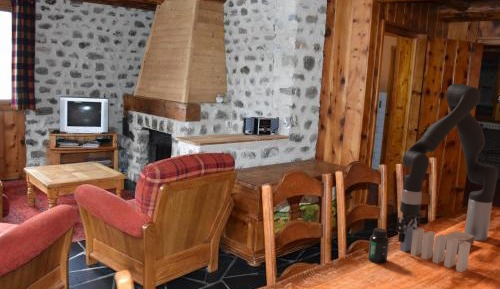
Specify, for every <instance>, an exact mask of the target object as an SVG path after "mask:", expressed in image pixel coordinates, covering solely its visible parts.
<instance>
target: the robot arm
mask: <svg viewBox="0 0 500 289" xmlns="http://www.w3.org/2000/svg"><path fill="white" fill-rule="evenodd" d="M445 94H446V95H445V97H446V102H447V105H448V107H449V110H450V112H449V113H448V114H447V115H445V116H444V117H441V118H440V119H439V120H437V121H435V122H434V123H432V124H431V125H430V126H429V127H428V128H427V129H426V130H425V132H424V133H423V134H422V136H421V137H420V139H419V140H418V141H416V142H415V143H414V144H413V145H411V146H410V147H409V148H408V149H407V150H406V151H405V152H404V154H403V156H402V164H403V165H404V166H405V167H407V168H409V169H411V170H410V173H409V174H406V175H404V179H403V186H402V191H401V197H400V198H401V200H400V205H399V206H400V207H399V210H400V212H401V213H402V216H397V219H396V220H397V221H396V226H395V232H397V233H398V239H397V240H398V242H399V243H401V242H402V243H403V242H404V240H405V232H406V230H407V229H408V228H409V226H412V225H413V226H414V227H413V230H415V229H417V228H420V224H421V214H422V213H421V206H422V199H423V198H422V195H423V194H422V190H423V182H424V179H425V177H426V174H427V171H428V169H429V165H430V164H429V158H428V156H427V153H432V152H434V151H435V150H436V149H437V148H438V147H439V146H440V144H441V143H442V142H443V141H444V139H445V138H446V136H447V135H448V134H449V133H450V132H451V131H452V130H453V129H455V127H456V129H457V134H458V137H459V142H460V145H461V148H462V151H463V155H464V162H465V166H466V173H467V177H468V180H469V181H470V183H473V184H476V185H479V186H480V185H481V186H483V187H482V189H480V190H473V191H471V192H470V193H469V196H468V204H467V212H466V217H465V218H466V220H465V227H464V233H467V234H470V235H473V236H474V237H475V238H474V241H482V242H484V241H487V240H488V235H489V229H490V228H489V227H490V223H491V222H490V221H491V220H490V219H491V215H492V214H491V213H492V207H493V201H494V200H493V199H494V195H495V192H496V186H497V182H498V178H499V177H498V176H499V172H498V168H497V166H495V165H491V164H485V163H481V162H480V161H479V160H478V158H479V157H478V156H479V155H480V153H481V152H482V150H483V149H484V147H485V144H486V138H485V135H484V130H483V128H482V126H481V124H480V123H479V122H478V120H477V119H476V118H475V117H474V116H473V114H472V113H471V112H472V110H474V109H475V107H477V105H478V103H479V102H480V100H481V92H480V90H479V89H478V88H477V87H475V86H471V85H468V84H463V83H452V84H451V85H450V86H448V88H447V90H446V93H445ZM403 229H404V230H403Z"/></svg>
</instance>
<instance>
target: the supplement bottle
mask: <svg viewBox="0 0 500 289" xmlns="http://www.w3.org/2000/svg"><path fill="white" fill-rule="evenodd" d="M387 233H388V230H387V229H385V228H381V227H375V228H373V232H372V235H370V237H369V246H368V260H369V261H370V262H371V263H375V264H379V265H382V264H386V263H387V261H388V255H389V254H388V252H389V242H390V240H389V238H388V237H387V235H388V234H387Z"/></svg>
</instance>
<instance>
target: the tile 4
mask: <svg viewBox="0 0 500 289" xmlns="http://www.w3.org/2000/svg"><path fill="white" fill-rule="evenodd" d="M445 235H446V234H442V233H441V234H438V235H435V238H434V246H433V255H432V263H434V264H440V263H441V262H444V261H445V253H446V250H445V244H446V236H445Z"/></svg>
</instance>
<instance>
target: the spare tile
mask: <svg viewBox="0 0 500 289" xmlns="http://www.w3.org/2000/svg"><path fill="white" fill-rule="evenodd" d="M413 227H414V226H413V225H412V226H409V228H408V229H407V230H406V232H405V240H404V242H403V243H402V242H400V249H399V251H400V252H404V253H406V252H408V251H411V245H412V236H413ZM403 230H404V229H403Z"/></svg>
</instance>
